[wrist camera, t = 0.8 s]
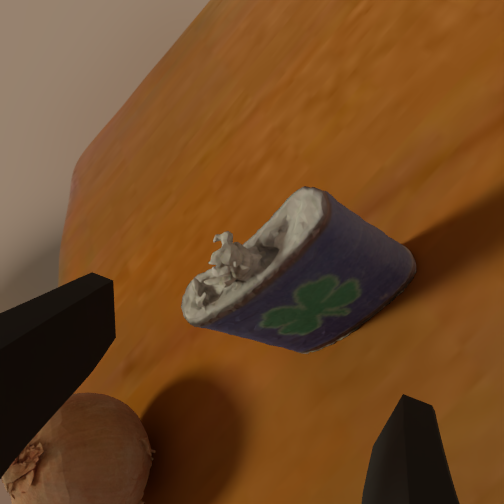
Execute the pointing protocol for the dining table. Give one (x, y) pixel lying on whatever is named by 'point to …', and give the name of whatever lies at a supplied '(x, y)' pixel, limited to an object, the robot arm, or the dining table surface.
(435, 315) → the dining table surface
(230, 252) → the flask
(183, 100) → the dining table surface
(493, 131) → the dining table surface
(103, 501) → the onion
